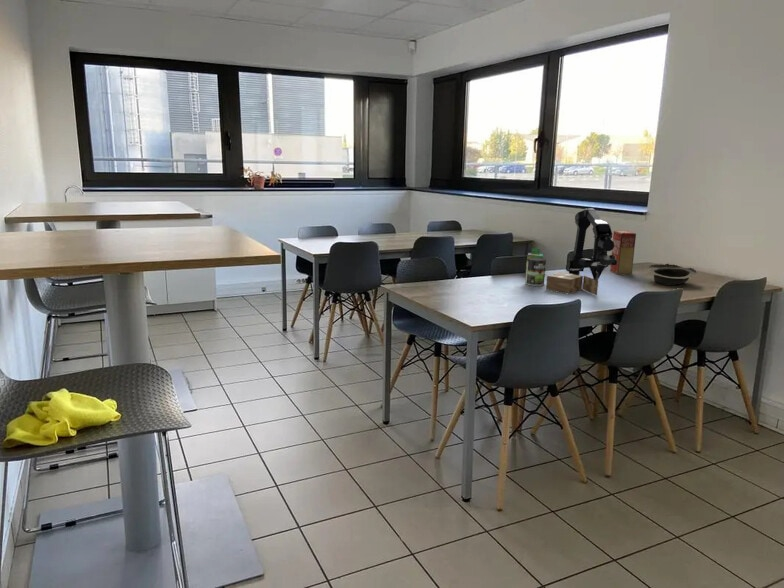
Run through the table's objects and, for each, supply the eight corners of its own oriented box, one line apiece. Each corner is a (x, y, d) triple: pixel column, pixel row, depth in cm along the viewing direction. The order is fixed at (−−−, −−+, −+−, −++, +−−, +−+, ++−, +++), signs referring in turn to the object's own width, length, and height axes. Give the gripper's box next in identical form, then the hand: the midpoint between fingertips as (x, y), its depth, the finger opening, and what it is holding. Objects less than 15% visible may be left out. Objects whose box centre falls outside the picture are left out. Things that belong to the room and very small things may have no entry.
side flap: (581, 289, 302) (583, 268, 300) (583, 289, 303) (585, 267, 300) (595, 295, 290) (597, 273, 287) (597, 295, 290) (599, 273, 287)
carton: (558, 285, 312) (560, 272, 310) (581, 289, 303) (583, 275, 301) (545, 289, 302) (547, 275, 300) (569, 294, 293) (570, 279, 291)
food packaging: (609, 270, 356) (613, 230, 350) (624, 270, 356) (628, 230, 350) (617, 274, 343) (621, 233, 337) (632, 274, 343) (637, 233, 337)
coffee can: (547, 285, 312) (549, 260, 308) (530, 286, 309) (532, 260, 306) (538, 281, 321) (540, 256, 318) (521, 282, 319) (523, 257, 315)
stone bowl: (675, 277, 336) (678, 262, 334) (703, 290, 313) (707, 274, 310) (637, 277, 332) (639, 262, 330) (662, 290, 309) (665, 274, 306)
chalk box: (525, 274, 342) (527, 249, 338) (526, 271, 351) (528, 247, 347) (541, 275, 339) (543, 250, 336) (542, 272, 348) (543, 248, 344)
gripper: (592, 251, 276) (589, 282, 280) (625, 250, 281) (622, 281, 285) (579, 247, 287) (576, 277, 290) (611, 246, 292) (608, 276, 295)
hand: (596, 278), depth 290 cm, fingers closed
